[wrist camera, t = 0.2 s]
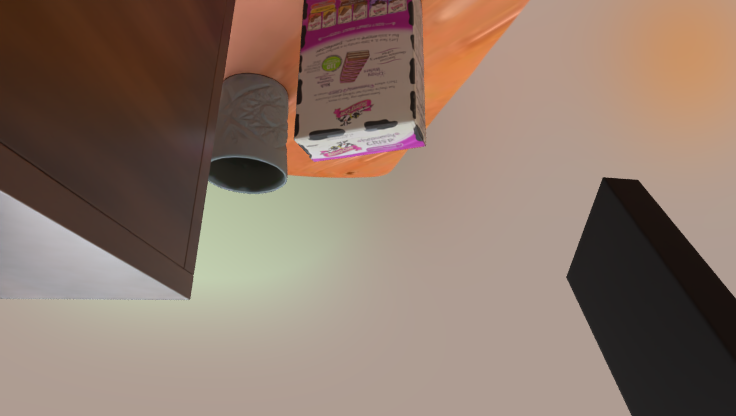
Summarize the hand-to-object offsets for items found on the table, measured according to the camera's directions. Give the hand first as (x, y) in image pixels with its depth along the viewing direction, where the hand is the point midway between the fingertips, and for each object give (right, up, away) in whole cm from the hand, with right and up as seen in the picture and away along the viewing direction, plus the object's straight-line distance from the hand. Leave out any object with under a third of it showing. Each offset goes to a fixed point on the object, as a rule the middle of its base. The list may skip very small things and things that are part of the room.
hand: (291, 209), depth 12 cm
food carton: (+1, +21, +43) cm, 48 cm away
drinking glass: (-13, +15, +59) cm, 62 cm away
